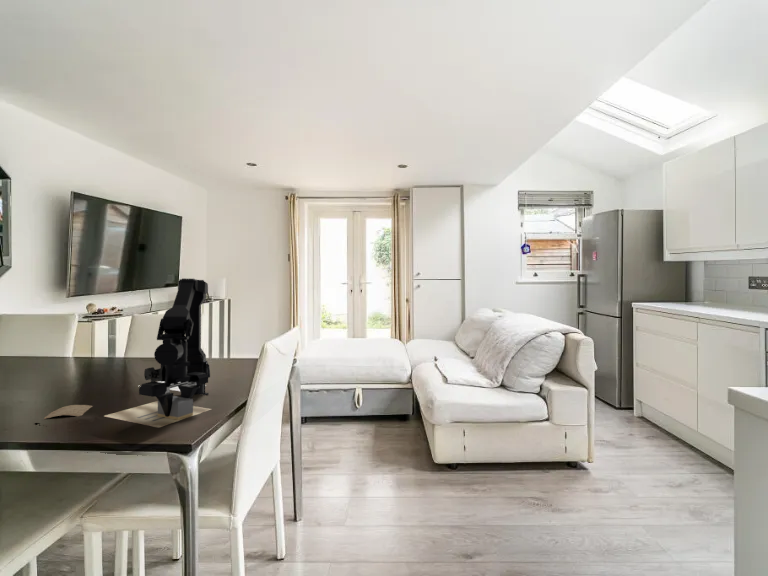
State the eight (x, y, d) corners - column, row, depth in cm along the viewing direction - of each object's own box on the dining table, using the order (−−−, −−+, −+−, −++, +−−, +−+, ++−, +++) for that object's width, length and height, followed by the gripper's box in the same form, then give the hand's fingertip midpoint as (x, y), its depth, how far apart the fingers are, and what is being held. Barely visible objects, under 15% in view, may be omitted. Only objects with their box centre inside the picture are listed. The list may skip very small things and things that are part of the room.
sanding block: (172, 411, 125) (172, 395, 125) (192, 414, 121) (193, 399, 121) (157, 416, 120) (157, 400, 120) (178, 419, 117) (178, 403, 117)
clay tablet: (102, 411, 130) (102, 402, 130) (93, 421, 120) (93, 412, 120) (44, 416, 125) (44, 406, 125) (30, 427, 115) (30, 417, 115)
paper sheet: (210, 388, 158) (210, 386, 158) (121, 407, 137) (121, 404, 136) (184, 378, 174) (184, 375, 174) (101, 393, 153) (101, 390, 153)
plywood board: (159, 404, 136) (159, 400, 136) (211, 413, 127) (212, 409, 127) (103, 420, 120) (103, 415, 120) (158, 432, 111) (158, 427, 111)
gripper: (182, 351, 132) (182, 402, 133) (125, 361, 115) (124, 419, 115) (209, 354, 128) (209, 406, 128) (154, 365, 111) (153, 425, 111)
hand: (175, 413), depth 121 cm, fingers closed on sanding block, 5 cm apart
